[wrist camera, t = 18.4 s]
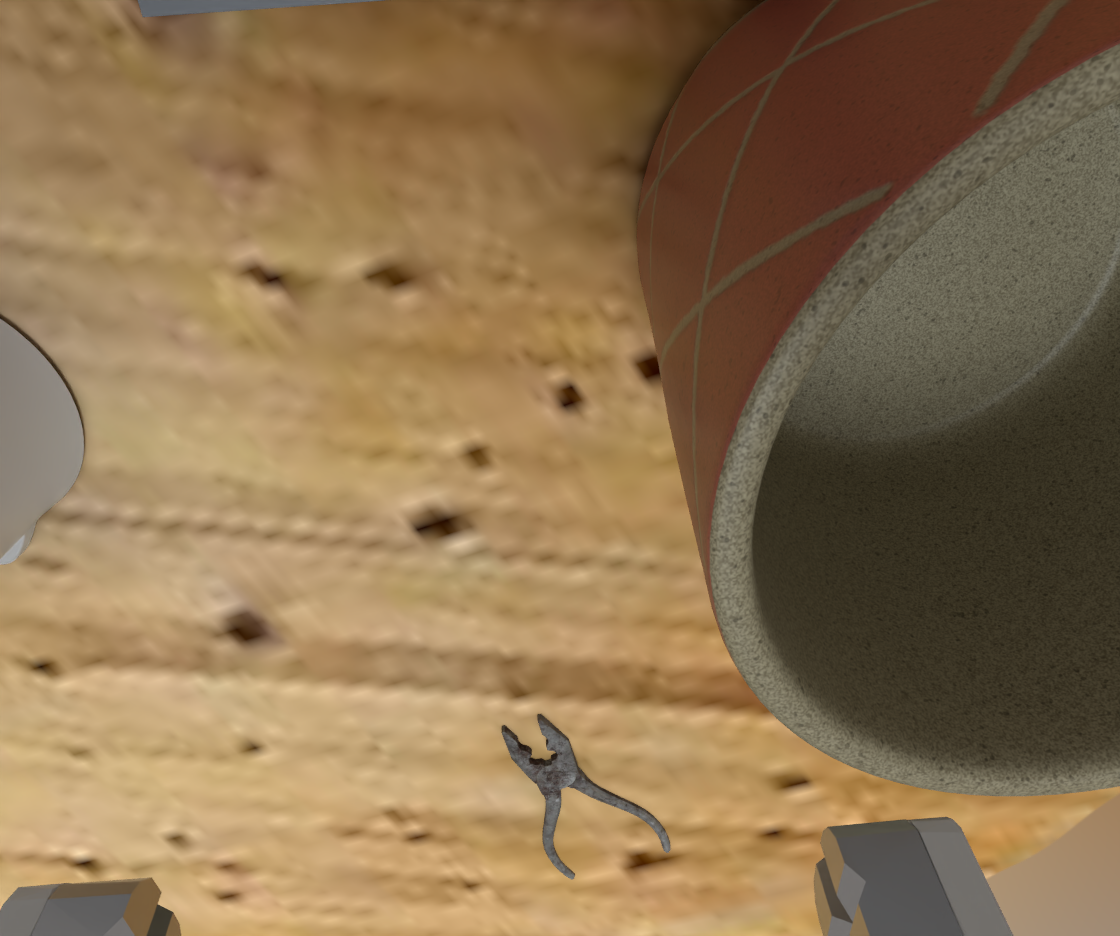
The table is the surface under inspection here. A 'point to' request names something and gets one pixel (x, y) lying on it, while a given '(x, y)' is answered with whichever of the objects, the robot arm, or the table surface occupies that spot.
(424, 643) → the table surface
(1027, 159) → the planter
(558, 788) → the pliers
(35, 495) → the robot arm
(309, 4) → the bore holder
